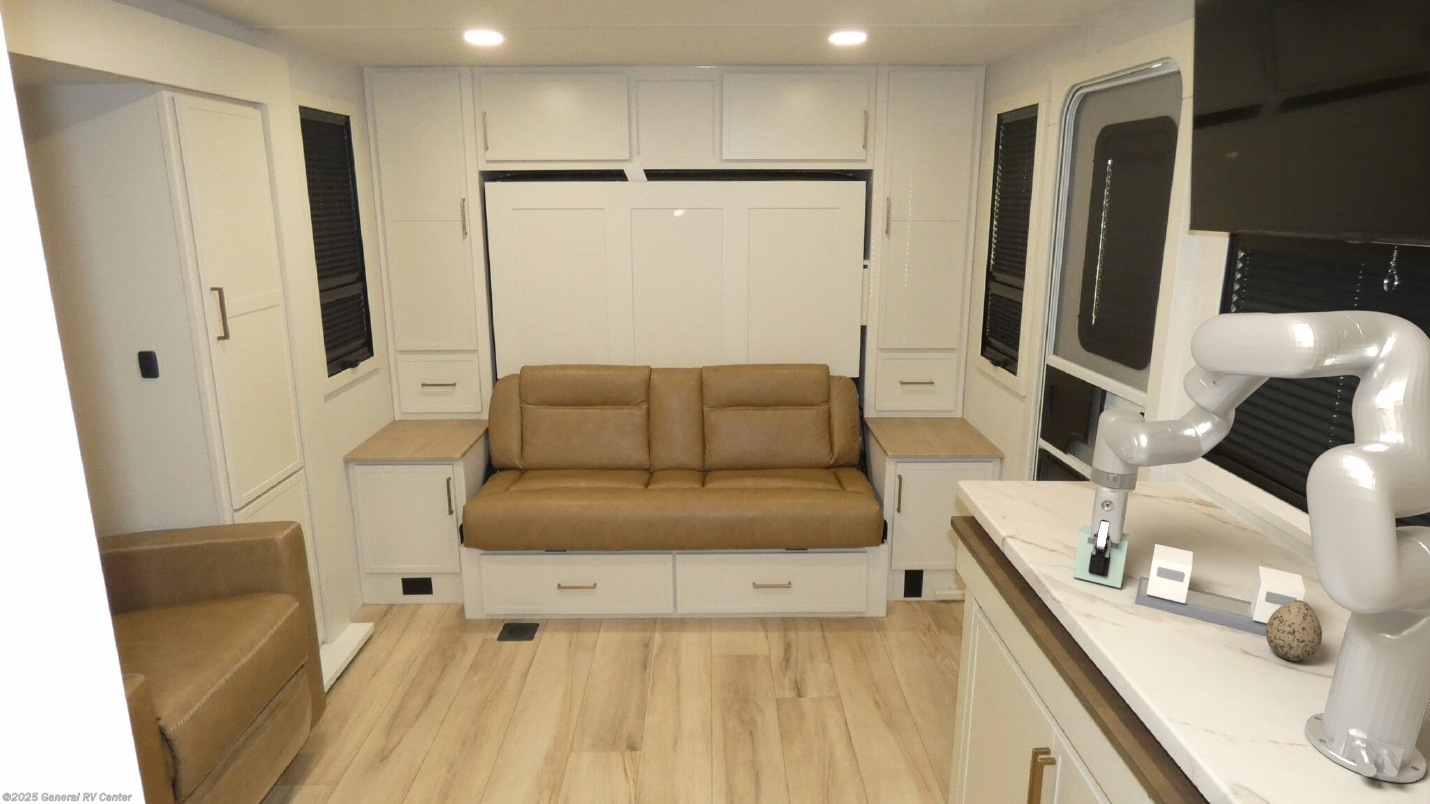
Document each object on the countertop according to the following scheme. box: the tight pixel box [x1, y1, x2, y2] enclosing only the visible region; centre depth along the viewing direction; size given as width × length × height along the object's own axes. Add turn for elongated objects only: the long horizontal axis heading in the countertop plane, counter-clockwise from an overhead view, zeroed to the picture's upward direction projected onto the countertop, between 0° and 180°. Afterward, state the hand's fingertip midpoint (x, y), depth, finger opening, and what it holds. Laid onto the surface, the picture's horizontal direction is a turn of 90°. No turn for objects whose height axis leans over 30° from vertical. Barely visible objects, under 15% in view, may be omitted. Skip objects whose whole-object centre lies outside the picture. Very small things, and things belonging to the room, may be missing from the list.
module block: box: [1073, 524, 1131, 589], centre depth 150 cm, size 5×8×9 cm, turn 59°
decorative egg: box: [1265, 600, 1323, 662], centre depth 126 cm, size 7×7×10 cm
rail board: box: [1134, 543, 1306, 637], centre depth 140 cm, size 10×25×9 cm, turn 59°
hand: (1099, 568), depth 150 cm, fingers closed on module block, 4 cm apart
